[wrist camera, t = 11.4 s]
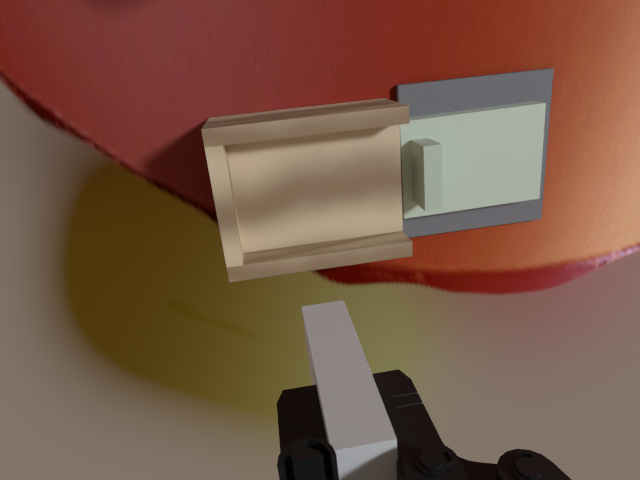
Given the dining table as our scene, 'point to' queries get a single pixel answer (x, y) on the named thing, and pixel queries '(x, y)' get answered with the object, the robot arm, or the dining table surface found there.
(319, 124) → the oak box
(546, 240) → the dining table surface
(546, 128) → the rubber mat
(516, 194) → the lid plate
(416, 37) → the dining table surface
